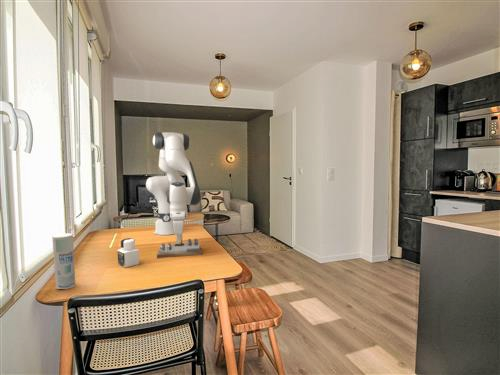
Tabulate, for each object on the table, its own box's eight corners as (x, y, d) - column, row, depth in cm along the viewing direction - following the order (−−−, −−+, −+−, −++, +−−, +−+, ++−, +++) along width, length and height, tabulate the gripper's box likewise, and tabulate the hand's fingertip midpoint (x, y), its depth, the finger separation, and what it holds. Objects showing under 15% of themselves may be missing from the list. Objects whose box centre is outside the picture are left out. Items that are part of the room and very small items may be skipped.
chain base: (158, 251, 156) (158, 248, 156) (200, 248, 161) (200, 246, 161) (156, 258, 145) (156, 255, 145) (201, 254, 150) (201, 251, 150)
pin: (176, 249, 154) (176, 231, 154) (182, 249, 155) (182, 230, 154) (176, 251, 151) (176, 232, 151) (182, 250, 152) (182, 231, 151)
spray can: (58, 291, 107) (55, 238, 106) (53, 287, 112) (50, 235, 110) (78, 286, 112) (75, 234, 111) (72, 281, 117) (69, 232, 115)
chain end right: (173, 248, 156) (172, 239, 155) (198, 247, 159) (198, 238, 158) (172, 252, 149) (172, 243, 149) (199, 250, 152) (199, 241, 151)
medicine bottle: (117, 264, 136) (116, 239, 135) (132, 260, 142) (131, 236, 141) (124, 268, 132) (123, 242, 131) (139, 264, 137) (138, 239, 136)
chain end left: (160, 249, 154) (160, 243, 154) (186, 248, 157) (186, 241, 157) (159, 253, 148) (159, 246, 147) (186, 251, 150) (186, 245, 150)
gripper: (173, 210, 161) (173, 235, 162) (171, 217, 141) (172, 245, 142) (184, 210, 162) (185, 234, 164) (184, 216, 143) (185, 244, 144)
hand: (179, 239), depth 153 cm, fingers open, 8 cm apart
